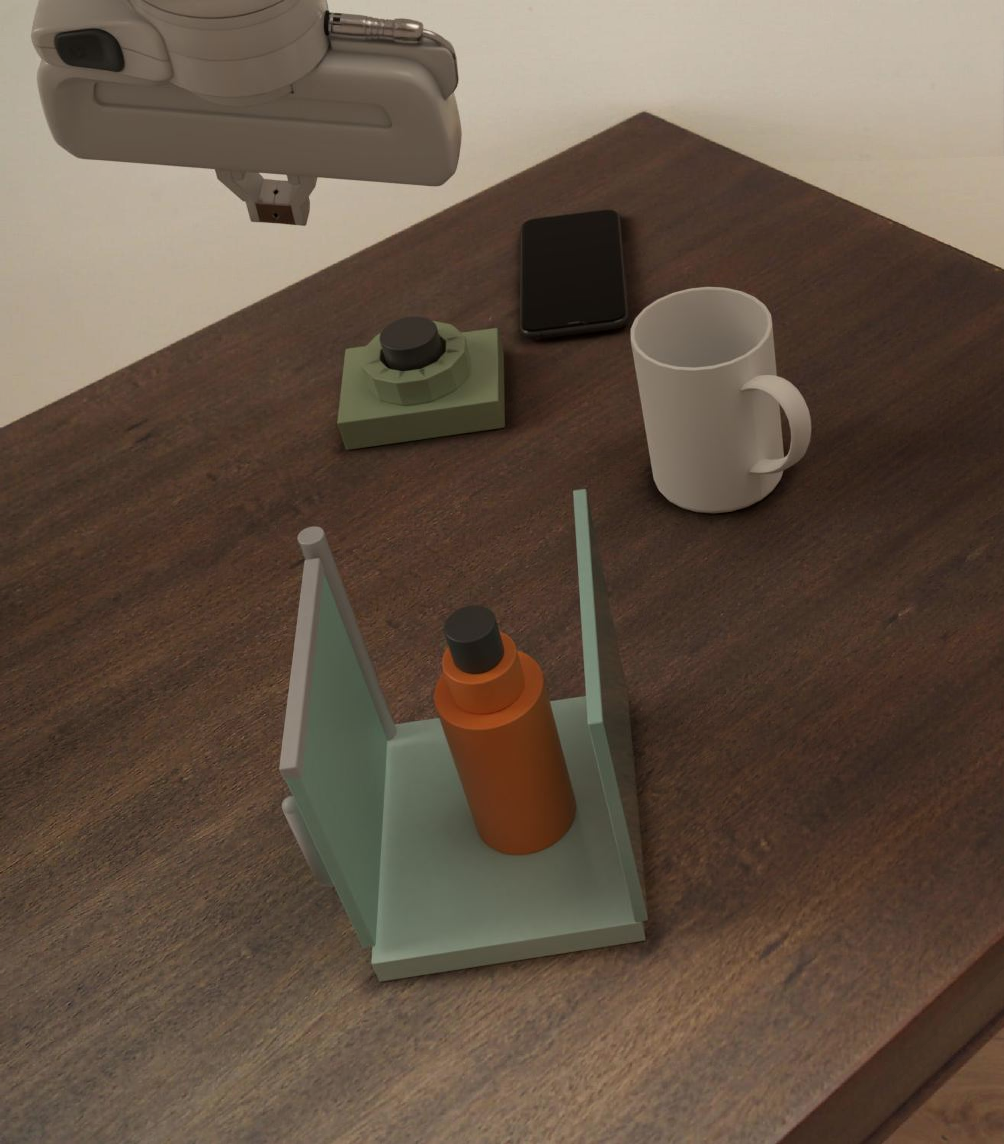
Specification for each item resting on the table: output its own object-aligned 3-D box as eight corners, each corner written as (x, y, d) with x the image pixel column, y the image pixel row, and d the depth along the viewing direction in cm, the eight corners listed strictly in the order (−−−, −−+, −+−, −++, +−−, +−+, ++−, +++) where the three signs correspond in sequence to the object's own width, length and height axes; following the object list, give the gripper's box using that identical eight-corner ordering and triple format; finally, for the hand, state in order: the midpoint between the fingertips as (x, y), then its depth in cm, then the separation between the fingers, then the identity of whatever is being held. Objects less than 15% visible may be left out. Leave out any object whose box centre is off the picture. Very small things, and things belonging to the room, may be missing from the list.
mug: (627, 473, 94) (601, 328, 87) (727, 413, 98) (710, 270, 90) (759, 571, 87) (743, 423, 80) (862, 503, 91) (855, 355, 83)
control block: (346, 450, 98) (328, 399, 95) (353, 375, 104) (337, 325, 101) (505, 428, 98) (492, 376, 96) (504, 354, 104) (492, 303, 101)
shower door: (335, 953, 69) (248, 774, 60) (351, 745, 77) (277, 563, 69) (377, 946, 69) (296, 766, 60) (388, 740, 78) (319, 557, 69)
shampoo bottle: (475, 862, 72) (409, 673, 63) (476, 782, 76) (413, 591, 67) (578, 847, 73) (527, 655, 64) (574, 767, 76) (525, 575, 67)
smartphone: (521, 228, 115) (520, 344, 104) (519, 218, 115) (518, 334, 104) (621, 215, 116) (630, 330, 105) (619, 205, 115) (629, 319, 104)
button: (384, 376, 97) (377, 353, 96) (387, 343, 100) (380, 320, 98) (442, 368, 97) (436, 345, 96) (443, 335, 100) (437, 312, 99)
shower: (365, 984, 70) (266, 772, 59) (381, 744, 80) (298, 527, 70) (652, 939, 70) (602, 721, 60) (631, 707, 81) (585, 486, 70)
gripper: (461, -18, 76) (479, 188, 88) (29, -56, 75) (106, 159, 87) (445, 71, 73) (466, 273, 85) (-7, 33, 71) (78, 244, 83)
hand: (281, 215), depth 86 cm, fingers closed
